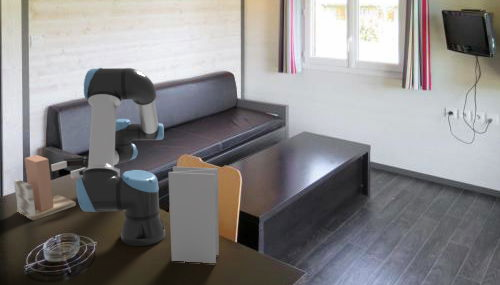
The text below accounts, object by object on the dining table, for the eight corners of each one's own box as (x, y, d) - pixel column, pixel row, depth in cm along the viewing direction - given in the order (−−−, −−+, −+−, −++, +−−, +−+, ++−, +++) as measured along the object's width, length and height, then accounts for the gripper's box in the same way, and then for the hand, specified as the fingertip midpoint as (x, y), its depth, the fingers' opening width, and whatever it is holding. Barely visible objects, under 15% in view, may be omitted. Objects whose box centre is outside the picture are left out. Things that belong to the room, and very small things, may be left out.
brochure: (218, 255, 154) (218, 168, 146) (215, 264, 148) (215, 174, 140) (176, 253, 155) (173, 166, 147) (171, 261, 150) (168, 172, 142)
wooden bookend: (75, 205, 191) (72, 174, 187) (33, 220, 177) (29, 186, 173) (59, 198, 198) (55, 167, 194) (17, 212, 184) (12, 179, 180)
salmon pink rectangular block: (53, 207, 185) (48, 158, 180) (41, 211, 181) (35, 162, 176) (42, 202, 190) (36, 154, 184) (30, 206, 186) (24, 158, 181)
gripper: (124, 172, 200) (80, 187, 184) (89, 161, 214) (45, 173, 198) (123, 156, 198) (79, 168, 182) (87, 145, 212) (43, 156, 196)
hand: (61, 171), depth 190 cm, fingers open, 13 cm apart
